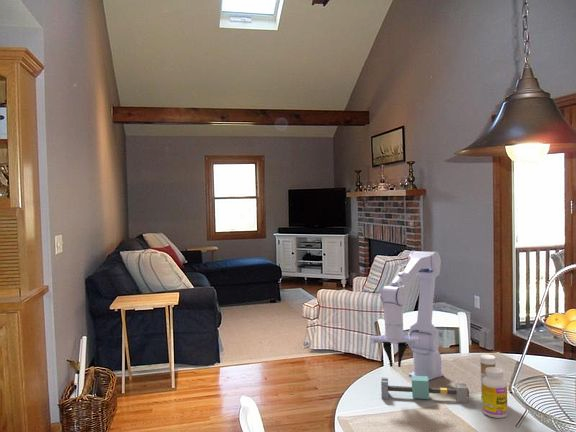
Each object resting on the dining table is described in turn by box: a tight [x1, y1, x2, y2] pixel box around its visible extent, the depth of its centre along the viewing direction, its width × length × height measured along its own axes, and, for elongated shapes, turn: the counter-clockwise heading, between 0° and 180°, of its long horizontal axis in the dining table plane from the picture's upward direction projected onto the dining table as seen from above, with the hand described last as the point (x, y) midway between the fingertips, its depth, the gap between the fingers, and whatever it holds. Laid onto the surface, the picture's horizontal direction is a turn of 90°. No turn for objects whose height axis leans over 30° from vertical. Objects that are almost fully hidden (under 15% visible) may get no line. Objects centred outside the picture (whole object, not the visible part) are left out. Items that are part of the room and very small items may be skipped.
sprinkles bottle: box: [479, 353, 497, 399], centre depth 146 cm, size 5×5×13 cm
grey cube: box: [455, 382, 470, 404], centre depth 146 cm, size 4×4×4 cm
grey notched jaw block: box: [380, 377, 390, 400], centre depth 151 cm, size 2×5×5 cm, turn 167°
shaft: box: [388, 385, 457, 395], centre depth 149 cm, size 23×1×1 cm, turn 77°
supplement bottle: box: [481, 366, 508, 419], centre depth 136 cm, size 7×7×13 cm
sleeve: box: [411, 376, 430, 400], centre depth 149 cm, size 5×4×6 cm
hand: (395, 365), depth 150 cm, fingers closed
